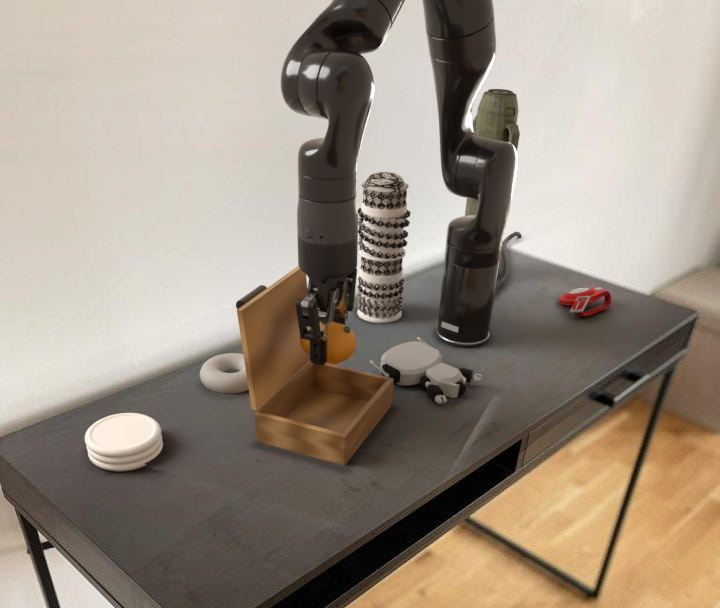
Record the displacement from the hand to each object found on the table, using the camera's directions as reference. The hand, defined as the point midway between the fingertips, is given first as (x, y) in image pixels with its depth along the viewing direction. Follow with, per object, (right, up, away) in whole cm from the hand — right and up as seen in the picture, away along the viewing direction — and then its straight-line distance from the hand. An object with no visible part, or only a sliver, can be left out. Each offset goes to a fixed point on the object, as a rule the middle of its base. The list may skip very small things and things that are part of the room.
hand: (328, 353), depth 104 cm
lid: (-7, +3, +1) cm, 7 cm away
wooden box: (0, -10, +7) cm, 12 cm away
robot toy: (+15, -2, +18) cm, 23 cm away
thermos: (+29, +26, +57) cm, 69 cm away
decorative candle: (+8, +14, +39) cm, 42 cm away
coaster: (-28, -14, 0) cm, 31 cm away
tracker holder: (+47, +16, +44) cm, 66 cm away
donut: (-16, -2, +17) cm, 23 cm away
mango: (0, -1, 0) cm, 1 cm away
